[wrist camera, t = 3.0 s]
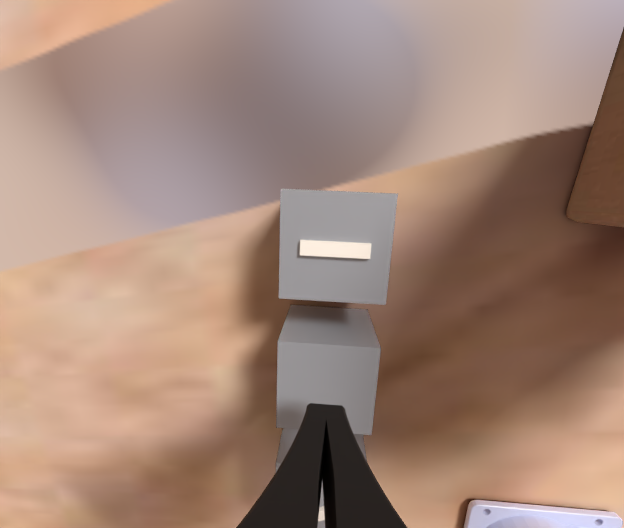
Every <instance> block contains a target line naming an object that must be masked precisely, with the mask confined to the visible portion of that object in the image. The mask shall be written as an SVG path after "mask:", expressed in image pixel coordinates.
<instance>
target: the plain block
mask: <svg viewBox="0 0 624 528" xmlns="http://www.w3.org/2000/svg"><path fill="white" fill-rule="evenodd" d="M380 352H381V347H380V344H379V341H378V338H377V335H376V333H375V330H374V327H373V324H372V321H371V318H370V315H369V312H368V309H352V308H336V307H319V306H303V305H290V308H289V311H288V314H287V317H286V319H285V322H284V325H283V328H282V331H281V333H280V336H279V339H278V353H277V413H276V428H288V429H299V428H300V426H301V423H302V421H303V418H304V415H305V412H306V408H307V405H308V404H310V403H315V404H329V405H342V406H343V407H344V408H345V412H346V415H347V418H348V421H349V424H350V426H351V429H352V431H353V434H361V435H372V427H373V417H374V408H375V399H376V389H377V380H378V371H379V362H380Z"/></svg>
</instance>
